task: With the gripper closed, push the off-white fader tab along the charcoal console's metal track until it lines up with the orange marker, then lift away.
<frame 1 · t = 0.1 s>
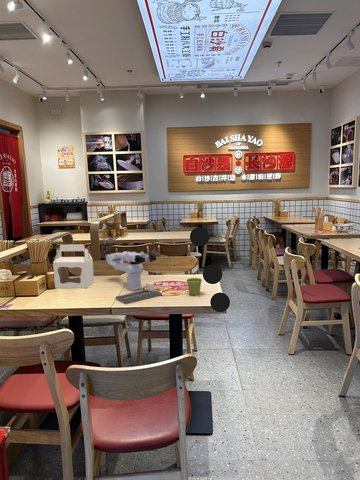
hand: (150, 259, 198), 22 cm above the table, tool horizontal, fingers open, 7 cm apart
plant pot: (194, 294, 200), on the table
fader console: (138, 297, 197), on the table
fader tab: (150, 287, 201), point 4 cm above the table, slide at 0.0 cm
gable box: (75, 285, 227), on the table
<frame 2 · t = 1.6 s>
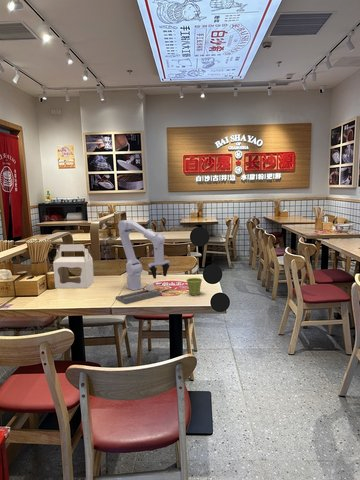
hand: (159, 277, 205), 9 cm above the table, tool pointing down, fingers open, 7 cm apart
nothing on the table moved.
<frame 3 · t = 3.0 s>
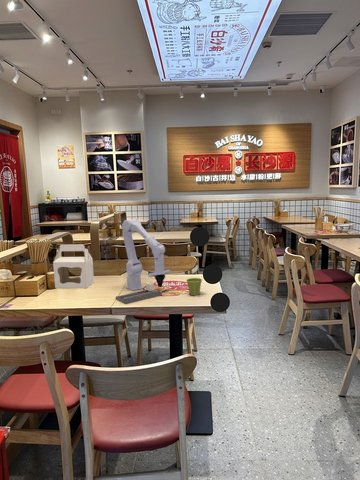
hand: (160, 286, 205), 3 cm above the table, tool pointing down, fingers closed
nothing on the table moved.
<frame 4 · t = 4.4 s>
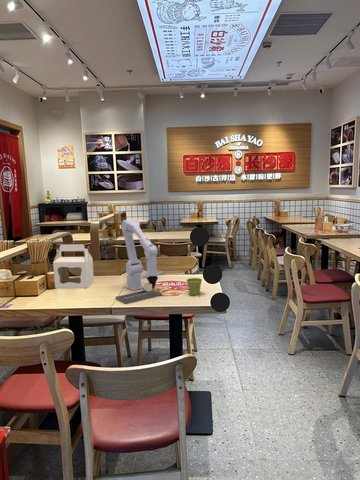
hand: (152, 288, 202), 3 cm above the table, tool pointing down, fingers closed
fader tab: (148, 287, 200), point 4 cm above the table, slide at 1.6 cm, touching gripper
everything else where it was.
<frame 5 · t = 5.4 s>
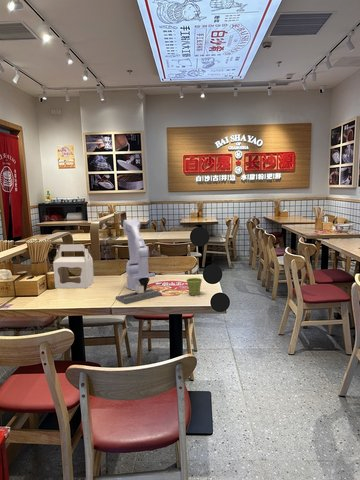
hand: (144, 290, 199), 3 cm above the table, tool pointing down, fingers closed
fader tab: (139, 289, 197), point 4 cm above the table, slide at 7.4 cm, touching gripper
everything else where it was.
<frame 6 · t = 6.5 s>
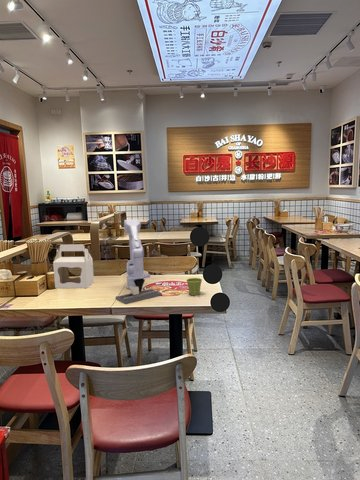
hand: (139, 291, 197), 3 cm above the table, tool pointing down, fingers closed
fader tab: (134, 290, 195), point 4 cm above the table, slide at 10.7 cm, touching gripper
everything else where it was.
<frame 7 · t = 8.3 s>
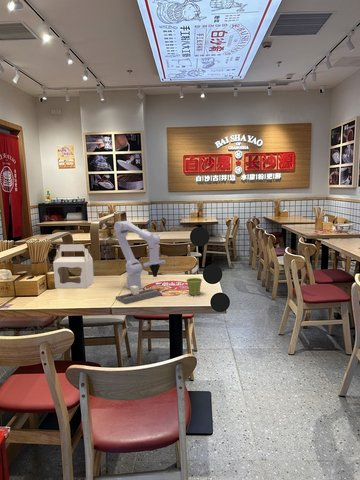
hand: (155, 276, 206), 9 cm above the table, tool pointing down, fingers closed
fader tab: (134, 290, 195), point 4 cm above the table, slide at 10.7 cm
everything else where it was.
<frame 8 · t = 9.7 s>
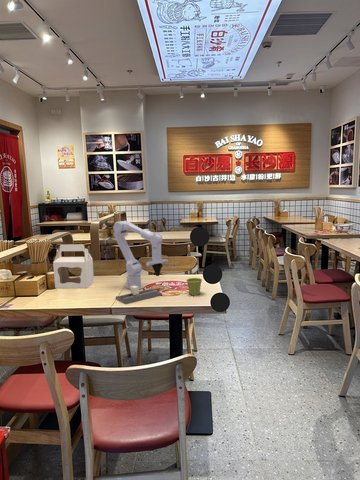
hand: (157, 275, 208), 9 cm above the table, tool pointing down, fingers closed
nothing on the table moved.
at the end: fader tab slide at 10.7 cm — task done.
